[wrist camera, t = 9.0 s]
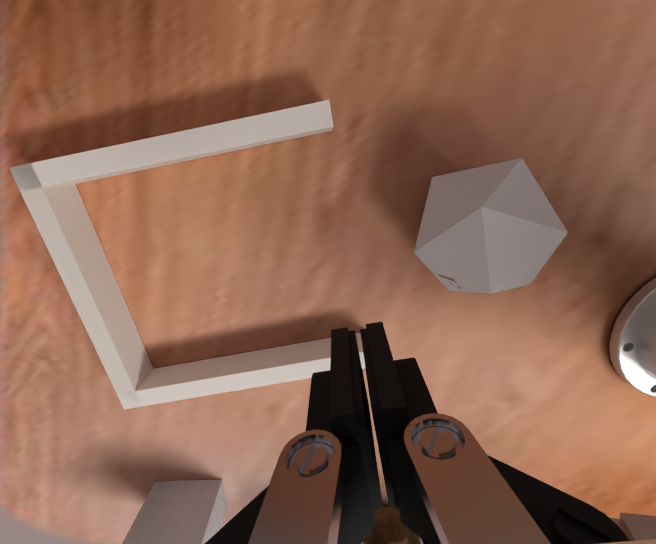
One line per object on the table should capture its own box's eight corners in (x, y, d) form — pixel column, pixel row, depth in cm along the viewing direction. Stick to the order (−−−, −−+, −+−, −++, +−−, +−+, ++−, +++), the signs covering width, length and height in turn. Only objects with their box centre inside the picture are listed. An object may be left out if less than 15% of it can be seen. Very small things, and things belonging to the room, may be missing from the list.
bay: (328, 107, 23) (329, 99, 20) (369, 346, 29) (374, 366, 26) (46, 166, 24) (8, 167, 21) (143, 385, 30) (124, 409, 27)
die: (394, 172, 25) (386, 277, 19) (520, 104, 20) (560, 222, 14) (443, 235, 29) (449, 335, 24) (557, 194, 24) (598, 310, 19)
